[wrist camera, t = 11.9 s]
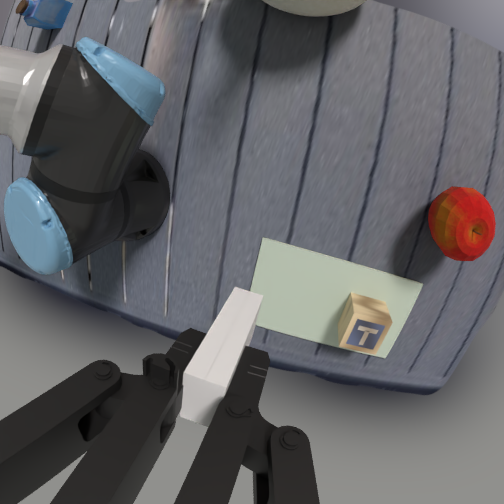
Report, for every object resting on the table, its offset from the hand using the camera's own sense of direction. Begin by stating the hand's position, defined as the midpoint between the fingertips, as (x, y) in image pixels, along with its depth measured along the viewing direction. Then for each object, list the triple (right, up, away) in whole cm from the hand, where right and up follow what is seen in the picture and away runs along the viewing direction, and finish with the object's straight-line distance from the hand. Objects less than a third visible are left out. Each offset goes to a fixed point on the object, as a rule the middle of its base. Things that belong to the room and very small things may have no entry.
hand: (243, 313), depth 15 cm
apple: (+28, +9, +21) cm, 37 cm away
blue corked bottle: (-41, +54, +21) cm, 71 cm away
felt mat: (+13, -5, +30) cm, 33 cm away
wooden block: (+16, -8, +23) cm, 30 cm away
